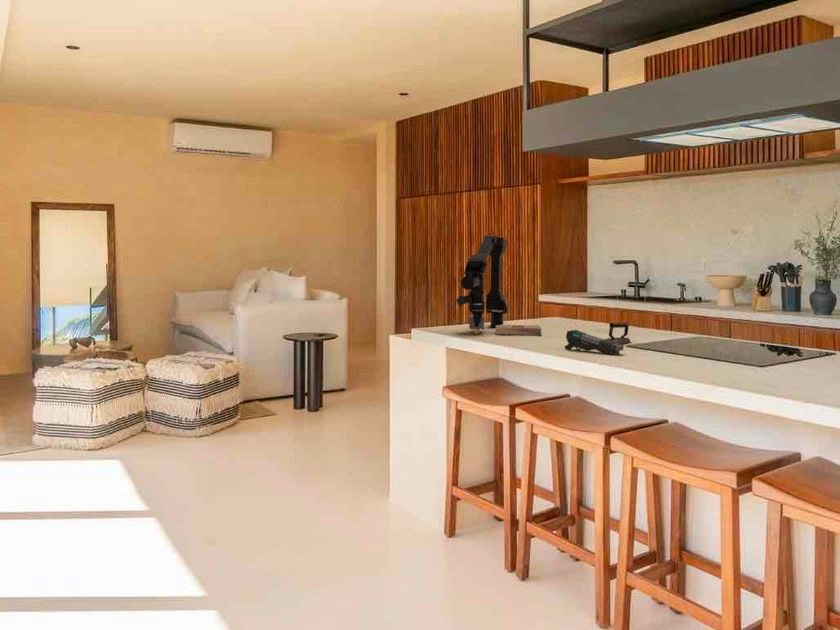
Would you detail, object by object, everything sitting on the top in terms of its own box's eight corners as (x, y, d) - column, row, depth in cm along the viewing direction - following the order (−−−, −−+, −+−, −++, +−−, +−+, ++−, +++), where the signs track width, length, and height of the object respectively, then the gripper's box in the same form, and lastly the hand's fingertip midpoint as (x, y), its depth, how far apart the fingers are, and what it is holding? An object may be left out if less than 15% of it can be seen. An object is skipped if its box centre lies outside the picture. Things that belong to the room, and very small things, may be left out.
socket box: (495, 332, 306) (495, 323, 306) (538, 332, 305) (538, 323, 304) (496, 335, 295) (496, 326, 295) (541, 335, 294) (541, 327, 294)
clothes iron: (601, 344, 272) (604, 318, 273) (621, 349, 278) (624, 323, 279) (616, 345, 266) (619, 318, 267) (636, 350, 272) (639, 323, 273)
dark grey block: (469, 332, 306) (469, 315, 306) (483, 332, 306) (483, 315, 305) (469, 333, 301) (469, 317, 300) (483, 333, 300) (483, 317, 300)
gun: (567, 347, 260) (576, 322, 256) (615, 372, 248) (625, 345, 245) (560, 348, 256) (569, 323, 253) (609, 374, 245) (619, 347, 241)
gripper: (457, 287, 311) (457, 323, 313) (456, 289, 293) (456, 328, 295) (484, 287, 311) (483, 323, 312) (484, 289, 292) (484, 328, 294)
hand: (476, 325), depth 303 cm, fingers closed on dark grey block, 6 cm apart
